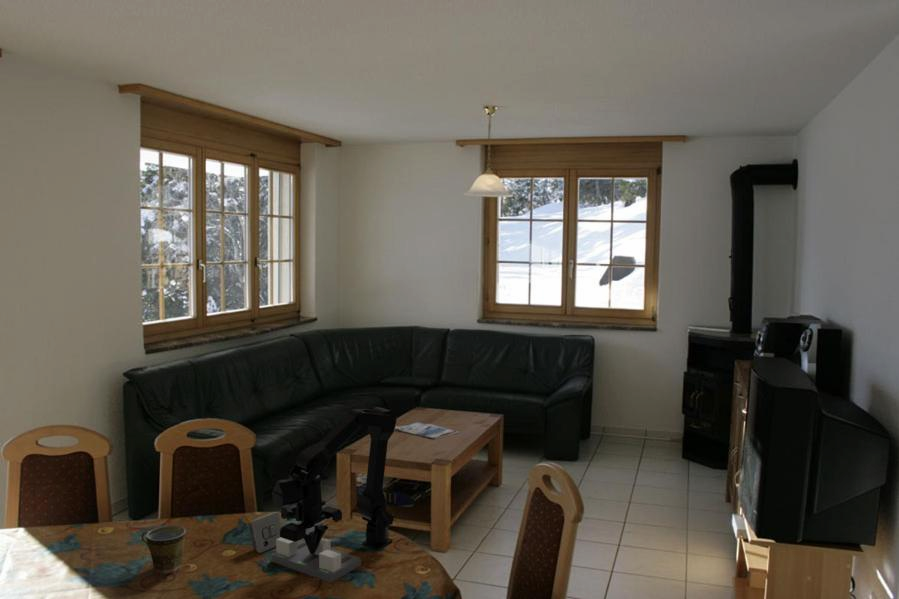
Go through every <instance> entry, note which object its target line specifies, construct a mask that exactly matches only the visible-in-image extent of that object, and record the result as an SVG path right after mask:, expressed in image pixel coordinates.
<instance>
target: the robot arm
mask: <svg viewBox="0 0 899 599" xmlns="http://www.w3.org/2000/svg"><path fill="white" fill-rule="evenodd" d="M396 425H397V415H396V414H395V413H394V412H393V411H392V410H389V409H385V408H382V407H378V406H376V407H373V408H372V409H366V408H362V409H358V408H357V409H356V408H355V409H351V410H350V411H349V412H348V414H347V416H345V417H344V418H343V419H342V420H341V421H340V422H339V423H338V424H337V425H336V426H335V427H334V428H333V429H332V430H330V432H329V433H328V434H327V435H325V436H324V437H323V439H321V440H320V441H319V442H316V443H314V444H312V445H308V447H307V448H305V449H304V450H302V451H301V452H300V453H299V454H298V455H297V457H296V461H295V463H294V465H293V466H292V468H291V470H290V472H289V474H288V478H286V479H280V480H276V482H275V485H274V486H273V489H272V491H271V494H272V496H271V497H272V500H273V503H274V505H275V507H277V508H280V517H281V519H282V520H286V521H290V520H293V519H295V522H301V523H299V524H297V523H294V522H290V523H287V524H285V525H282V528H281V529H280V537H281V538H284V539H287V540H290V541H293V542H296V541H297V542H298V541H300V540H305V542H306V544H307V547H308V549H309V552H310V553H311V554H314V553H315V551H316V549H317V547H318V545H319V543H320V541H321V539H322V538H323V537H324V535H325V533H326V531H327V530H329V526H328V525H325V521H327V520H329V519H331V518H332V521H333V523H338V522H339V521H342V520H343V513H342V511H341V509H340V508H336V507H334V506H330V505H327V506H325V505H326V500H323V484H322V483H323V481H326V480H330V477H329V476H328V475H327V474H326V473H325V472H324V471H325V470H326V468H327V467H328V466H329V464H330V463H331V460H332V456H333V455H334V454H335V453H336V452H337V451H338V449H340V448H341V447H342V446H343V445H344V444H346V442H347V441H348V440H349V439H350V438H351V437H352V436H353V435H354V434H355V433H356V432H357V431H358V430H359V429H360V428H362V426H367V431H368V434H369V437H370V444H369V445H370V446H369V453H368V462H367V471H366V472H367V473H366V480H365V481H366V482H365V487H364V489H363V491H362V492H361V493H360V492H358V493H357V495H356V504H355V507H356V509H357V513H358V514H359V516H361V519H362V521H365V522H367V523H366V528H365V529H366V530H365V539H364V540H363V541H361V542H362V543H361V544H362V545H365V546H369V547H373V548H376V549H382V548H383V547H385V546H386V545H389V544H390V543H392V542H393V538H390V537H389V526H391V525H393V523H394V520H395V516H393V515H392V514H391V513H390V512H389V511H388V510H387V499H386V495H385V494H384V493H385V492H384V490H383V488H384V481H385V480H384V479H385V473H386V472H385V470H386V462H387V452H388V443H389V440H390V438H391V437H392V436H393V434H394V432H395V428H396ZM301 472H303V473H304V474H303V473H301ZM305 474H306V475H305ZM290 505H291V506H290ZM323 506H324V507H323Z"/></svg>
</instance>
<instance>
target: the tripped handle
mask: <svg viewBox="0 0 899 599" xmlns="http://www.w3.org/2000/svg"><path fill="white" fill-rule="evenodd" d="M331 543H332V542H331V540H330V539H326V538H323V537H322V539H321V541H320V543H319V545H318V547H317V549H316V551H315V553H314V554H316V555H319V553H321V552H323V551H325V550H330V551H331V549H332V548H331Z"/></svg>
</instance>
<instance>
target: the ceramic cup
mask: <svg viewBox="0 0 899 599" xmlns="http://www.w3.org/2000/svg"><path fill="white" fill-rule="evenodd" d="M186 532H187V531H186V528H184V527H183V526H180V525H164V526H158V527H155V528H154V529H151V530H150V531H148V530H146V531H143V532H142V534H141V540H142V541H143V542H144V543H145V545H147V548H148V550H149V553H150V557H151V561H152V565H153V570H154V573H155V574H162V575H165V574H166V575H167V574H171V573H175V572H176V571H178V570H180V568H181V564H182V559H183V558H182V556H183V550H184V546H185V540H186ZM144 535H145V537H144Z"/></svg>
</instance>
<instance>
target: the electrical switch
mask: <svg viewBox="0 0 899 599" xmlns="http://www.w3.org/2000/svg"><path fill="white" fill-rule="evenodd" d="M281 519H282V518H281V513H280V512H278V511H274V512H271V513H269V514H266V515H263V516H260V517H258V518H255V519H253V520H252V521H250V522H248V529H249V534H250V539H251V545H252V550H253V551H254V550H255V551H256V552H257V553H258V554H261V553H264V552H266V551H268V550H271V549H273V548H276V539H278V538H280V529H281V528H282V527H283V525H282V520H281Z"/></svg>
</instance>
